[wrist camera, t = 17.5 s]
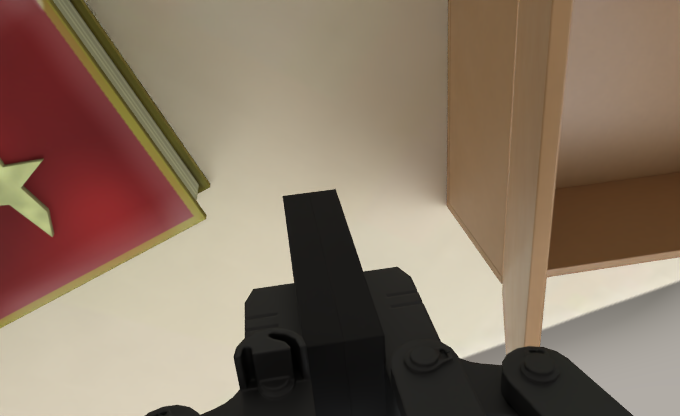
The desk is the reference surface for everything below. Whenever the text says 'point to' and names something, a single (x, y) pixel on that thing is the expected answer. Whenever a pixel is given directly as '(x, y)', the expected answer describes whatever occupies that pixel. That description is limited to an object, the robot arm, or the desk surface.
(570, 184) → the carton
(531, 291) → the flap
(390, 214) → the desk surface
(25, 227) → the hardcover book
